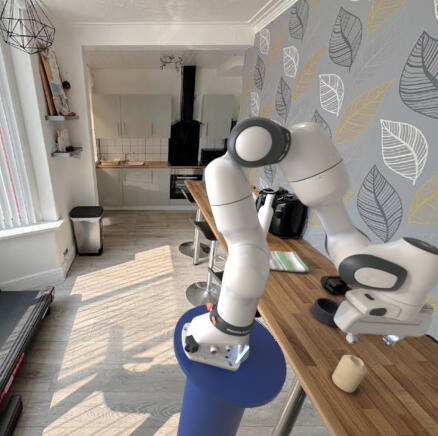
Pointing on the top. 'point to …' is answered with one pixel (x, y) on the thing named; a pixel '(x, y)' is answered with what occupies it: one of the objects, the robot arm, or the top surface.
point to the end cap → (335, 285)
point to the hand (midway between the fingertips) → (368, 342)
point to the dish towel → (287, 262)
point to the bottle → (266, 214)
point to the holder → (325, 310)
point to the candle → (349, 373)
